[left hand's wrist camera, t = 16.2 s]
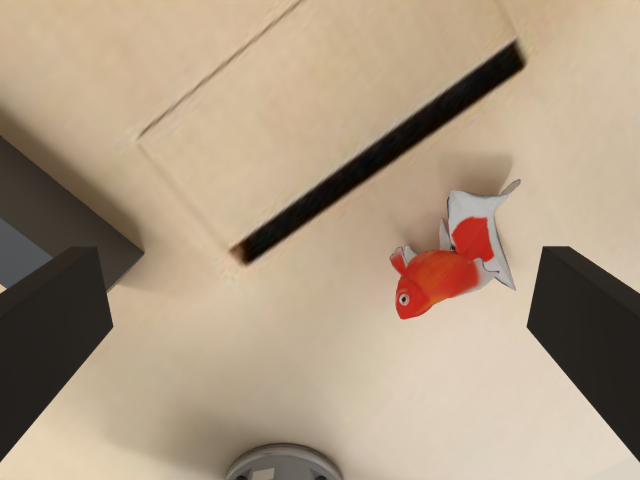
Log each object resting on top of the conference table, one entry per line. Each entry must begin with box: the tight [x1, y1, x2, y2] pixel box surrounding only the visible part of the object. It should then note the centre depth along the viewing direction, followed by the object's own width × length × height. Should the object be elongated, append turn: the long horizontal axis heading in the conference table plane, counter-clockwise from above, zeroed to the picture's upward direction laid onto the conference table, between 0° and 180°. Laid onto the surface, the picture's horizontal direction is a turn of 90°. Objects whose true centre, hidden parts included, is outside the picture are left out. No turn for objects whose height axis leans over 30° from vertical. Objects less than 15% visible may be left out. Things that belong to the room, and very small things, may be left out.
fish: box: [390, 179, 521, 320], centre depth 38 cm, size 11×16×10 cm
